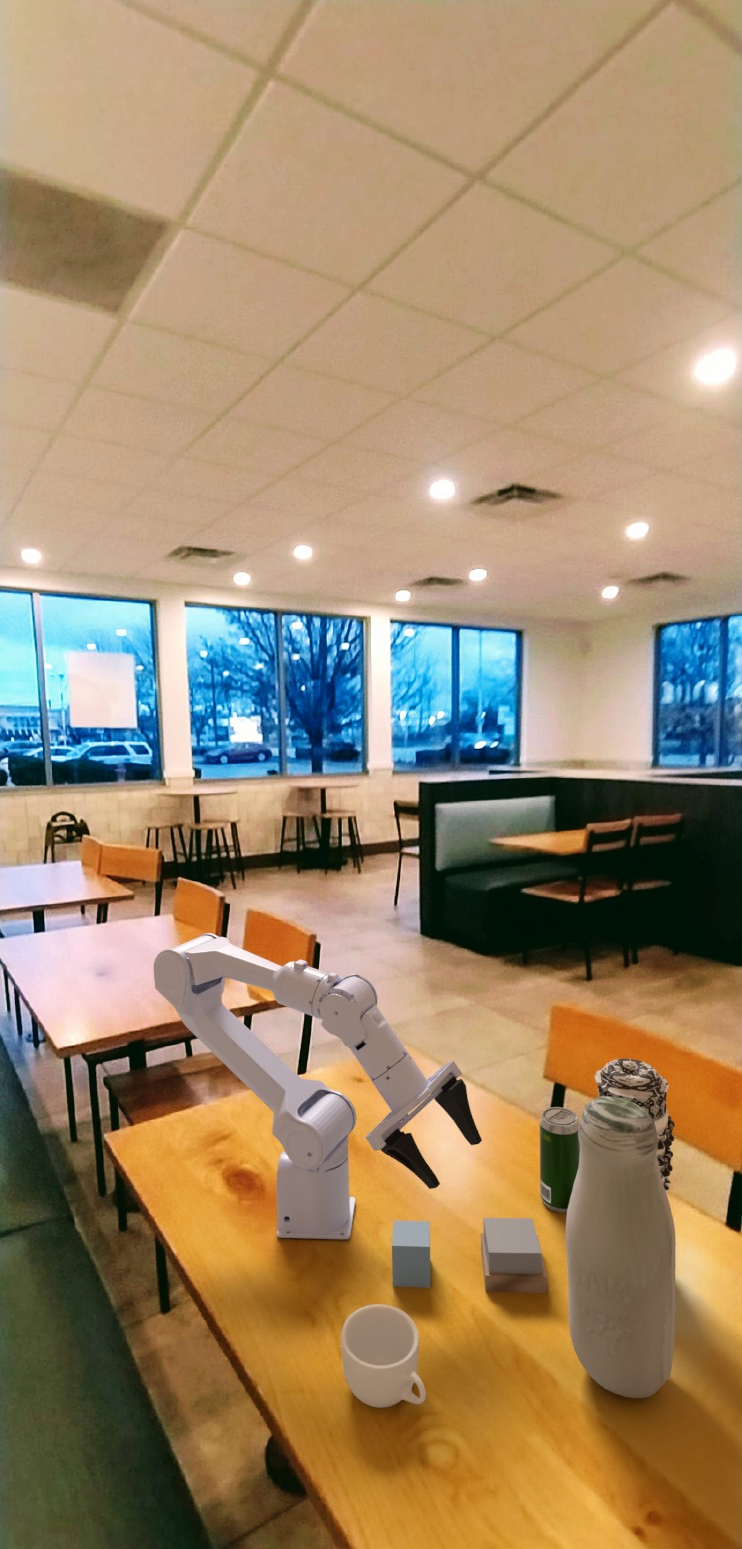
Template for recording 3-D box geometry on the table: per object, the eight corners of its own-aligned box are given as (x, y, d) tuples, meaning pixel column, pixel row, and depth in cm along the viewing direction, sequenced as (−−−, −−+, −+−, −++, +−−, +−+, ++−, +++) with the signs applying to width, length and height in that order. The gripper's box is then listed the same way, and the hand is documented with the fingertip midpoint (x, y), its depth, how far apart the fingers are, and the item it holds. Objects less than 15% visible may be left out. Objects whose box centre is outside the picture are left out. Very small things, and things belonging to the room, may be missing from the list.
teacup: (326, 1383, 73) (324, 1332, 73) (383, 1339, 78) (381, 1291, 78) (394, 1457, 66) (393, 1400, 65) (452, 1403, 71) (452, 1350, 70)
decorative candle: (676, 1312, 81) (676, 1092, 79) (588, 1292, 84) (587, 1080, 82) (672, 1256, 89) (673, 1056, 88) (593, 1239, 92) (592, 1046, 91)
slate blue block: (392, 1286, 86) (391, 1245, 85) (394, 1259, 90) (393, 1220, 90) (430, 1287, 85) (429, 1246, 85) (430, 1260, 90) (429, 1221, 89)
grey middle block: (489, 1273, 85) (488, 1252, 84) (483, 1237, 91) (483, 1217, 90) (541, 1273, 84) (541, 1253, 84) (532, 1237, 90) (532, 1218, 90)
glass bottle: (682, 1360, 75) (682, 1093, 73) (662, 1443, 66) (662, 1144, 64) (585, 1319, 80) (583, 1071, 78) (555, 1392, 71) (552, 1114, 70)
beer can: (561, 1219, 96) (561, 1131, 96) (531, 1198, 101) (531, 1114, 100) (589, 1204, 99) (589, 1118, 98) (559, 1184, 104) (558, 1102, 103)
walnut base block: (485, 1296, 84) (485, 1275, 84) (481, 1252, 91) (480, 1233, 91) (547, 1298, 84) (546, 1277, 84) (537, 1254, 91) (537, 1235, 91)
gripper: (357, 1098, 84) (428, 1206, 81) (442, 1025, 92) (510, 1120, 89) (338, 1106, 90) (404, 1207, 87) (420, 1037, 98) (482, 1127, 95)
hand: (456, 1164), depth 88 cm, fingers open, 7 cm apart
